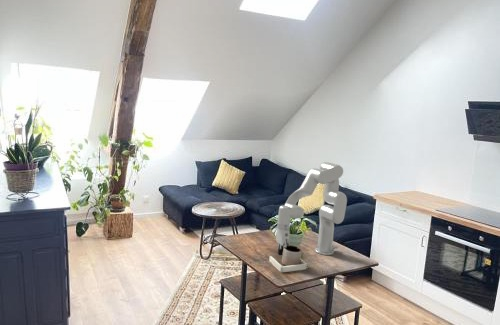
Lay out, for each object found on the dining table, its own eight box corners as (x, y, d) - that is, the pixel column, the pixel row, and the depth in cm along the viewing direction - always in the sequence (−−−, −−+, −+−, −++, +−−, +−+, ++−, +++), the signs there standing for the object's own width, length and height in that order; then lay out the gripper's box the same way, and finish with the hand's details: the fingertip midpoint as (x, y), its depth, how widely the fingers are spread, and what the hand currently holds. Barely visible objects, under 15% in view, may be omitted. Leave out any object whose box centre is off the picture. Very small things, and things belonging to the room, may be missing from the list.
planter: (303, 266, 220) (305, 251, 219) (288, 268, 214) (291, 253, 213) (291, 258, 229) (294, 244, 228) (277, 260, 223) (280, 245, 222)
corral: (294, 258, 231) (294, 253, 231) (307, 269, 216) (308, 264, 216) (269, 261, 225) (269, 256, 224) (281, 272, 210) (281, 267, 209)
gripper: (294, 229, 219) (291, 259, 221) (283, 222, 233) (280, 249, 235) (283, 230, 216) (280, 259, 219) (272, 222, 230) (270, 250, 232)
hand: (280, 254), depth 227 cm, fingers closed
